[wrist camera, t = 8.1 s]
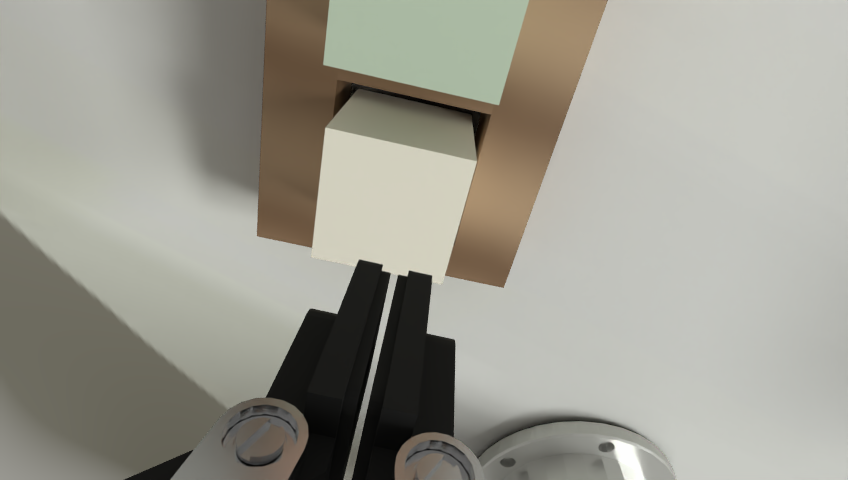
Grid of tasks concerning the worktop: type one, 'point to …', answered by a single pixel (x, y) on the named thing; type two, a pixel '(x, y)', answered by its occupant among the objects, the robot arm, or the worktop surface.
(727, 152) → the worktop surface
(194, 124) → the worktop surface
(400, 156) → the cream block
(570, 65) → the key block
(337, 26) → the key sage
